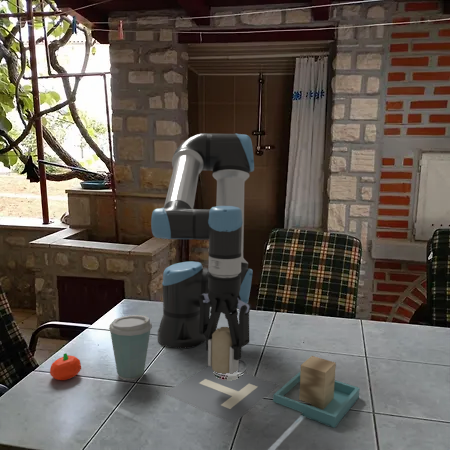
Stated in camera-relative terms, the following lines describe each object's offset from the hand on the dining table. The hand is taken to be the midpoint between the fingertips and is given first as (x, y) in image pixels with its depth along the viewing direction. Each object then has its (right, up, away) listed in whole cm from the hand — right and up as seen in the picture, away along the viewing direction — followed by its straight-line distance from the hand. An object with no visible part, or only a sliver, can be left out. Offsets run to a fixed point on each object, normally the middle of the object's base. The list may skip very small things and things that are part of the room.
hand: (223, 367), depth 111 cm
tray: (+22, -7, -2) cm, 23 cm away
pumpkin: (-40, -5, +7) cm, 41 cm away
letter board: (0, -6, +1) cm, 7 cm away
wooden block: (+22, -7, -2) cm, 23 cm away
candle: (0, 0, 0) cm, 1 cm away
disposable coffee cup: (-24, -5, +9) cm, 26 cm away
